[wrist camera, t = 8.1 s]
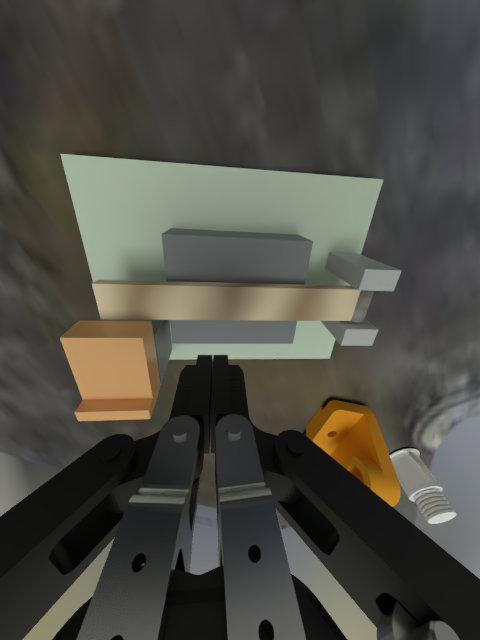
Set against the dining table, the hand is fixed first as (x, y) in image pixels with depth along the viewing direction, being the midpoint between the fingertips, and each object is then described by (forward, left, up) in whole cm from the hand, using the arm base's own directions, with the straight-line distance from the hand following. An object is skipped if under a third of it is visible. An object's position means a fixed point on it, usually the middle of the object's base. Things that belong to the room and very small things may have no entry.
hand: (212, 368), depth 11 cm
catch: (+8, +5, -8) cm, 12 cm away
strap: (-2, 0, -9) cm, 10 cm away
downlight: (-38, +37, -16) cm, 55 cm away
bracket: (-20, +25, -16) cm, 36 cm away
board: (-1, 0, -16) cm, 16 cm away
